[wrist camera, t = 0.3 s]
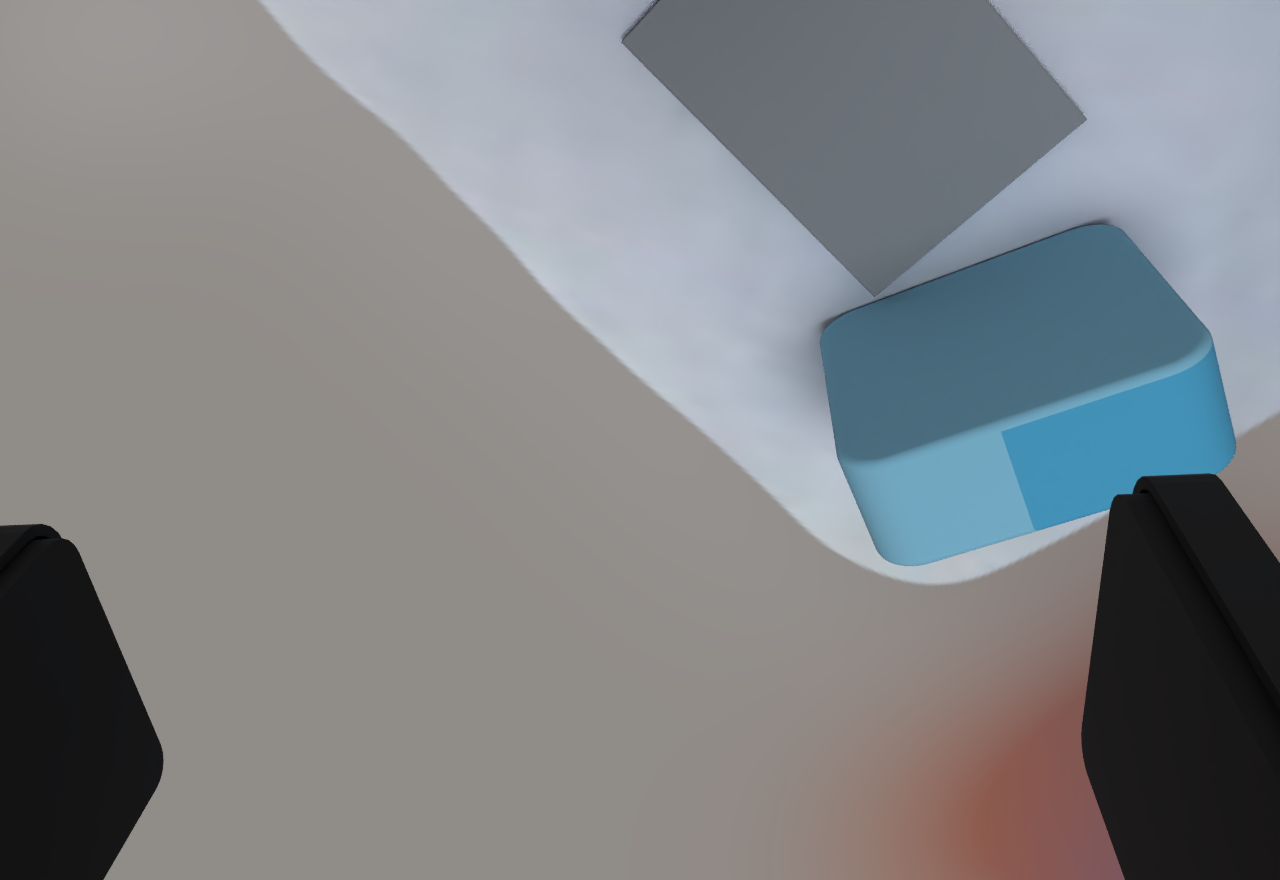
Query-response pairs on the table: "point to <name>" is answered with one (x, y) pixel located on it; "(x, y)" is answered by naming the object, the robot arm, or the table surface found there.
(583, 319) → the table surface
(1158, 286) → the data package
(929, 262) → the table surface
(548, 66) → the table surface
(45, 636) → the robot arm
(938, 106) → the mat
